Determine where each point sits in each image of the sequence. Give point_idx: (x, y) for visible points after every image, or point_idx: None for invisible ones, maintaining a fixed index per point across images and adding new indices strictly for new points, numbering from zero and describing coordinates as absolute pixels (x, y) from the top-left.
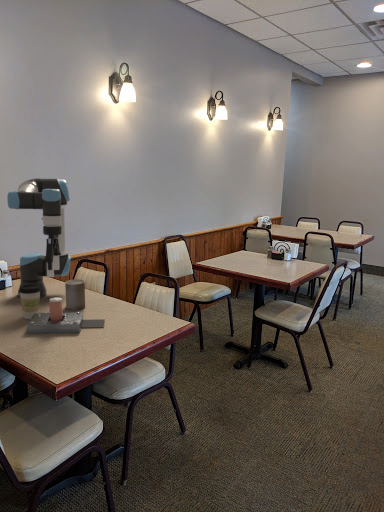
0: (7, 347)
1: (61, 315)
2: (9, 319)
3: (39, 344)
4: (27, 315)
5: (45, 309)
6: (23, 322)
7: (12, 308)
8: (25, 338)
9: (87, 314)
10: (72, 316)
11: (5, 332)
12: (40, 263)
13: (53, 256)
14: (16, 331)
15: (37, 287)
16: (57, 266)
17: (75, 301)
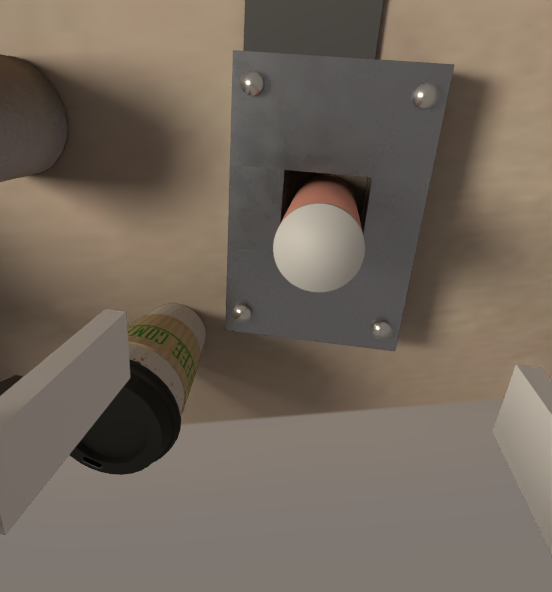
0: None
1: (341, 190)
2: (206, 406)
3: (543, 270)
4: (201, 350)
5: (72, 276)
6: (246, 354)
7: None
8: (447, 332)
9: (140, 33)
10: (304, 121)
11: (356, 407)
12: None
13: (12, 514)
14: (353, 371)
15: None
16: (104, 352)
17: (33, 116)
